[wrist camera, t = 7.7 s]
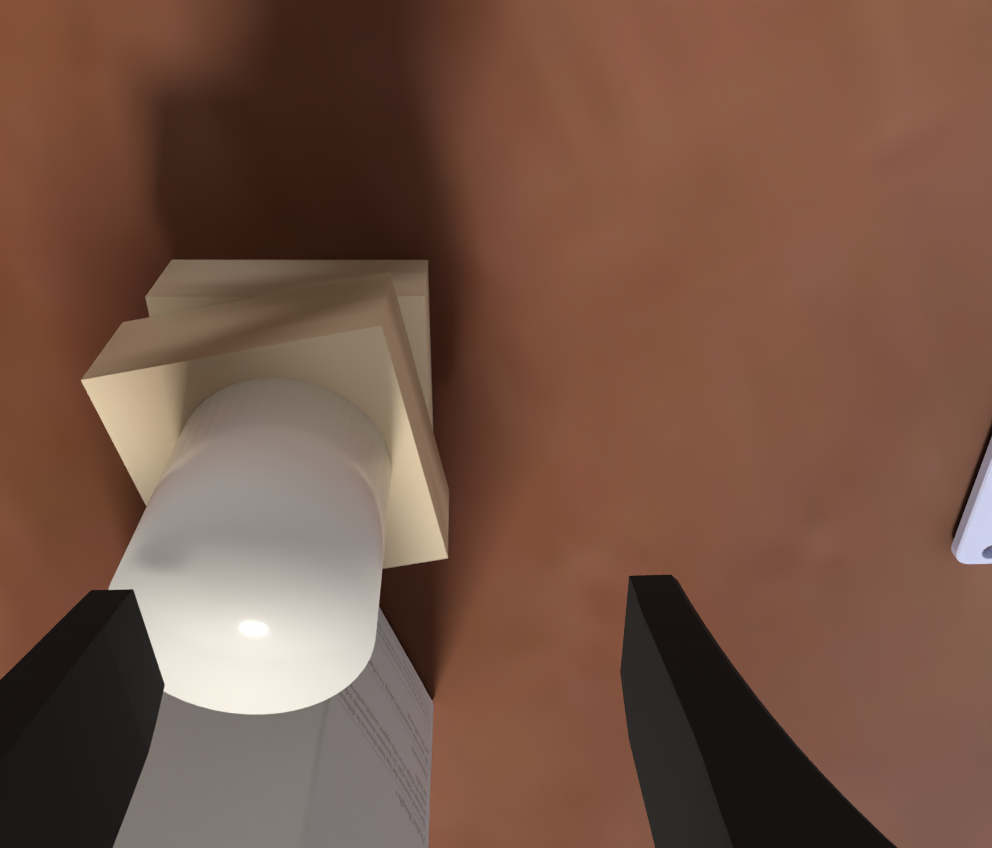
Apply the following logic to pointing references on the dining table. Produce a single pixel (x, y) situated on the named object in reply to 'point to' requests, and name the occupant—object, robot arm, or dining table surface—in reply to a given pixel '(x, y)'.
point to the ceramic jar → (264, 549)
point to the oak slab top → (282, 354)
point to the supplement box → (293, 769)
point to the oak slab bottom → (255, 278)
